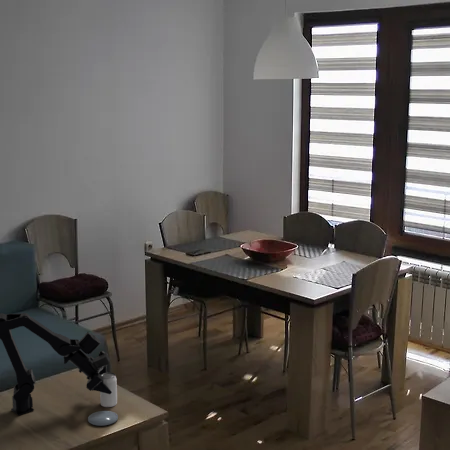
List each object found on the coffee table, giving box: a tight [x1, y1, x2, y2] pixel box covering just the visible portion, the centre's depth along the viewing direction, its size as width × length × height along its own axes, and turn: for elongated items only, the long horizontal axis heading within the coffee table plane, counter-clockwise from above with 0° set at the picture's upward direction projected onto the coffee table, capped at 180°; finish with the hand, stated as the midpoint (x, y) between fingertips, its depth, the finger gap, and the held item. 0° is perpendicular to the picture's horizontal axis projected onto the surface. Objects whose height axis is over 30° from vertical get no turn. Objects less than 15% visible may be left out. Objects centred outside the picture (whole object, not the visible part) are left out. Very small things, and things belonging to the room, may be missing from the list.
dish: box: [87, 410, 119, 427], centre depth 259 cm, size 11×11×1 cm
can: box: [99, 372, 118, 408], centre depth 272 cm, size 6×6×12 cm
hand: (112, 388), depth 272 cm, fingers open, 9 cm apart
